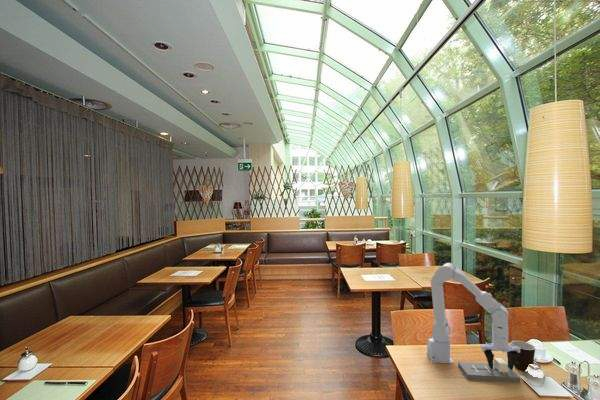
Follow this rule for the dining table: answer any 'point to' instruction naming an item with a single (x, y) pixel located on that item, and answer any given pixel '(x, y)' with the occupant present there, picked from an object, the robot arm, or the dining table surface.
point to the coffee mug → (524, 355)
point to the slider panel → (487, 373)
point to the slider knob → (500, 365)
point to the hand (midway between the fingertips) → (500, 368)
